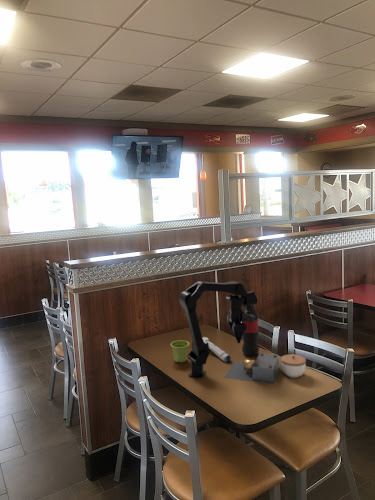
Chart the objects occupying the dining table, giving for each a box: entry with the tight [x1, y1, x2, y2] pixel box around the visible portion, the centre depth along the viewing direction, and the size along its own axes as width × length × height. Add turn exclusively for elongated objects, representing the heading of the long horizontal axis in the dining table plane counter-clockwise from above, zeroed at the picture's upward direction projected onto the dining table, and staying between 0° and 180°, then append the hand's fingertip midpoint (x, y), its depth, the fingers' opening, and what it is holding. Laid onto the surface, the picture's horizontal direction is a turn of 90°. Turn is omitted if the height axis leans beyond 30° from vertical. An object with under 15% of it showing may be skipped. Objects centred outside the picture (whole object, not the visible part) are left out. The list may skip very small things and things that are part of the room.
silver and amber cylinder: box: [243, 358, 256, 371], centre depth 179 cm, size 5×10×5 cm, turn 68°
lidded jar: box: [280, 353, 307, 379], centre depth 175 cm, size 11×11×9 cm
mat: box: [223, 361, 282, 385], centre depth 180 cm, size 18×22×1 cm
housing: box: [252, 352, 280, 383], centre depth 177 cm, size 16×9×7 cm, turn 158°
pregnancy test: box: [202, 336, 232, 363], centre depth 203 cm, size 5×7×25 cm
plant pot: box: [170, 340, 190, 363], centre depth 197 cm, size 9×9×9 cm
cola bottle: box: [241, 305, 260, 358], centre depth 199 cm, size 8×8×30 cm
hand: (236, 339), depth 187 cm, fingers open, 9 cm apart
